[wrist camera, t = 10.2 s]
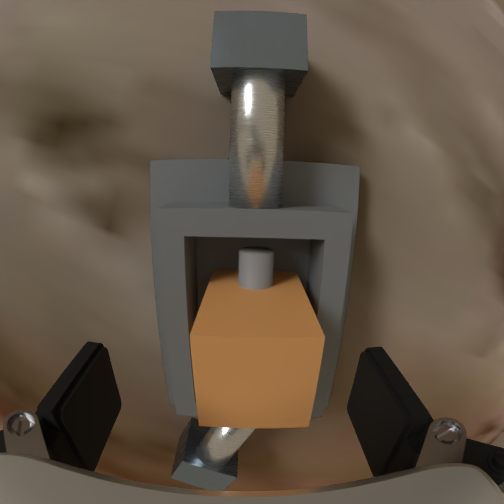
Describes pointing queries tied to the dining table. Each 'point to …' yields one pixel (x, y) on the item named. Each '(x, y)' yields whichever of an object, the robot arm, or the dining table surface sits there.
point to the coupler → (255, 347)
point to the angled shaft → (208, 455)
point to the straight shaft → (258, 96)
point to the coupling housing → (247, 235)
